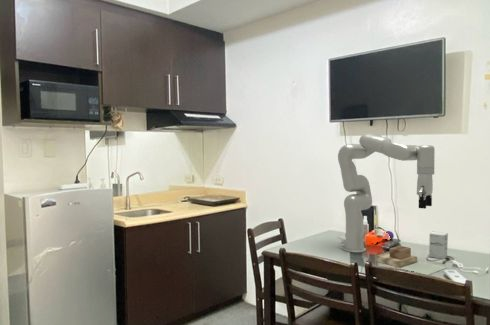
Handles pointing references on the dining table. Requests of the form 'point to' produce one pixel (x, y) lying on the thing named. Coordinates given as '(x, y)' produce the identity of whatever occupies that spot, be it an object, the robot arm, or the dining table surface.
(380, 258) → the birch deck
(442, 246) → the supplement box
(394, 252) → the brown wooden block
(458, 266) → the dining table surface
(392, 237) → the kendama
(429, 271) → the sage mat
